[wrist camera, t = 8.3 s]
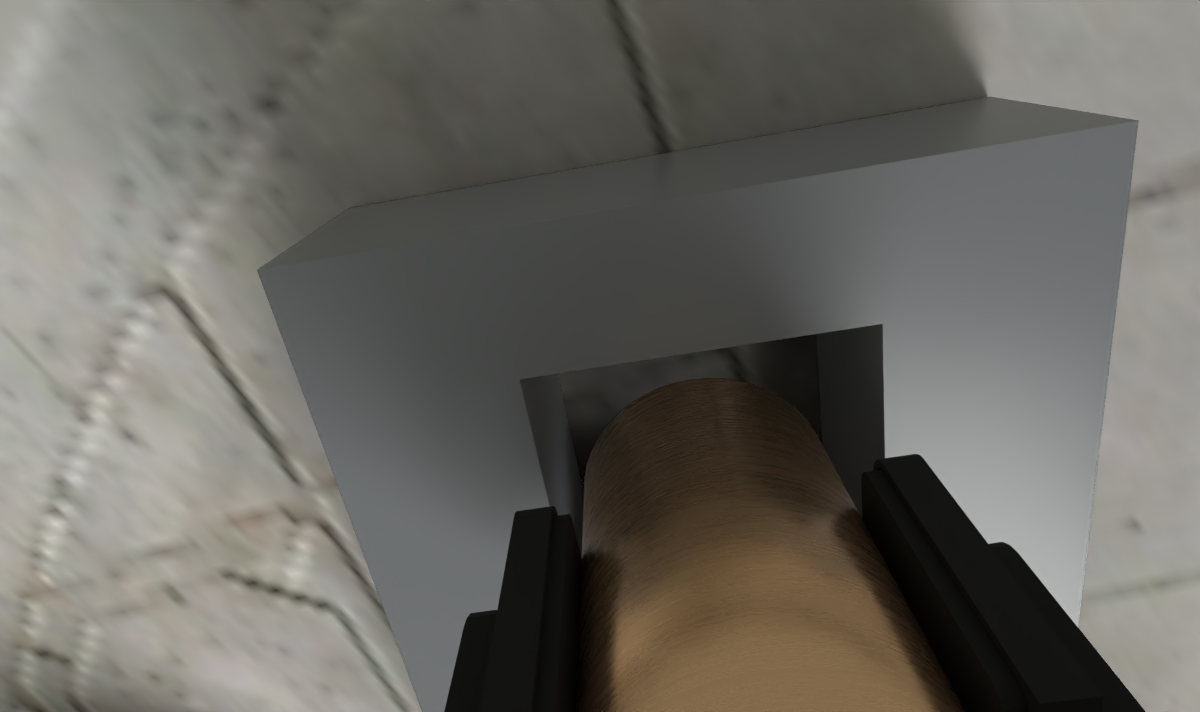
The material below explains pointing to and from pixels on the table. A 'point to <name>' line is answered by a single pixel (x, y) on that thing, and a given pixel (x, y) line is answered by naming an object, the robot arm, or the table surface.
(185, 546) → the table surface
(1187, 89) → the table surface
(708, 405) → the tan cylinder
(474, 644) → the robot arm
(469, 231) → the block
